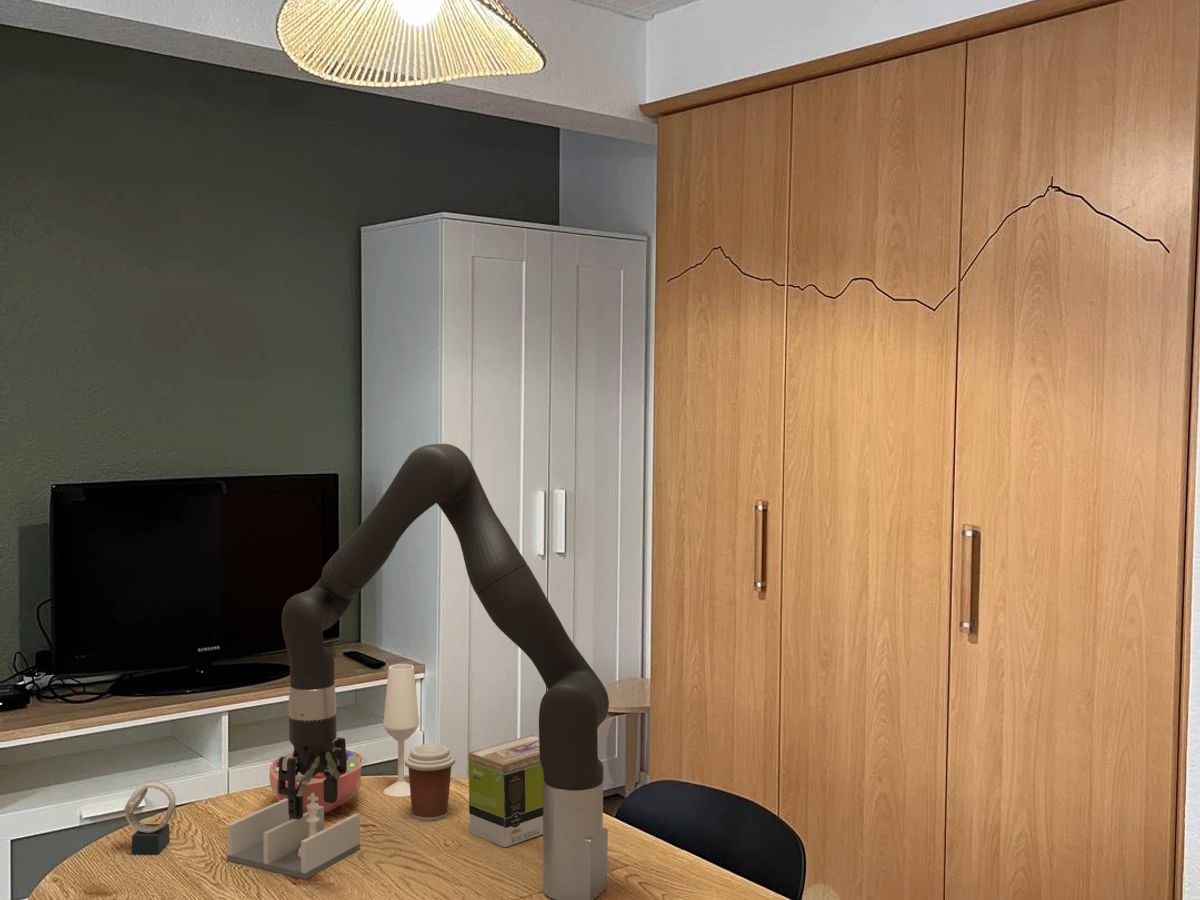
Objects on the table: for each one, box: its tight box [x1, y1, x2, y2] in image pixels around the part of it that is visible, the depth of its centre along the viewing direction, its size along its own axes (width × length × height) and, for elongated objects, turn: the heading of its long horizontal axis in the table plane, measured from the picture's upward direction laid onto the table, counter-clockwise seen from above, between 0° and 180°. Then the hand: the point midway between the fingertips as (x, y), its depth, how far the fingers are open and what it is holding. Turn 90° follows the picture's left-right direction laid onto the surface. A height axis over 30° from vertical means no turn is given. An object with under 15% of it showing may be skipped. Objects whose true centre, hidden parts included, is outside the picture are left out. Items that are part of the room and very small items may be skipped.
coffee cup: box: [404, 743, 456, 822], centre depth 220 cm, size 9×9×12 cm
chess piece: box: [298, 793, 320, 857], centre depth 199 cm, size 5×5×10 cm
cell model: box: [268, 749, 363, 815], centre depth 223 cm, size 17×20×11 cm
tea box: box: [468, 734, 544, 848], centre depth 213 cm, size 15×10×15 cm, turn 135°
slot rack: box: [226, 799, 361, 880], centre depth 201 cm, size 16×14×6 cm
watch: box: [123, 780, 177, 856], centre depth 203 cm, size 6×8×11 cm
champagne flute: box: [382, 663, 420, 798], centre depth 232 cm, size 7×7×24 cm
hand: (313, 810), depth 199 cm, fingers open, 8 cm apart
